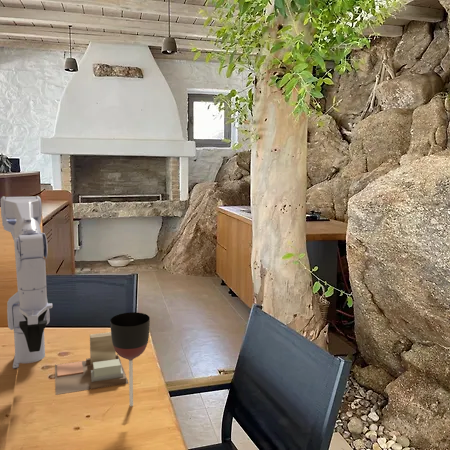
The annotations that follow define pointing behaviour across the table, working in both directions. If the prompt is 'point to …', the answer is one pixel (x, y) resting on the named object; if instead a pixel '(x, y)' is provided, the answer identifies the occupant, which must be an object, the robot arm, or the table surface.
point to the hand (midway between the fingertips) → (35, 344)
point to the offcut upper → (106, 367)
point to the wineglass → (130, 339)
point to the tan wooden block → (101, 347)
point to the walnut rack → (81, 377)
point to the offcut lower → (106, 376)
